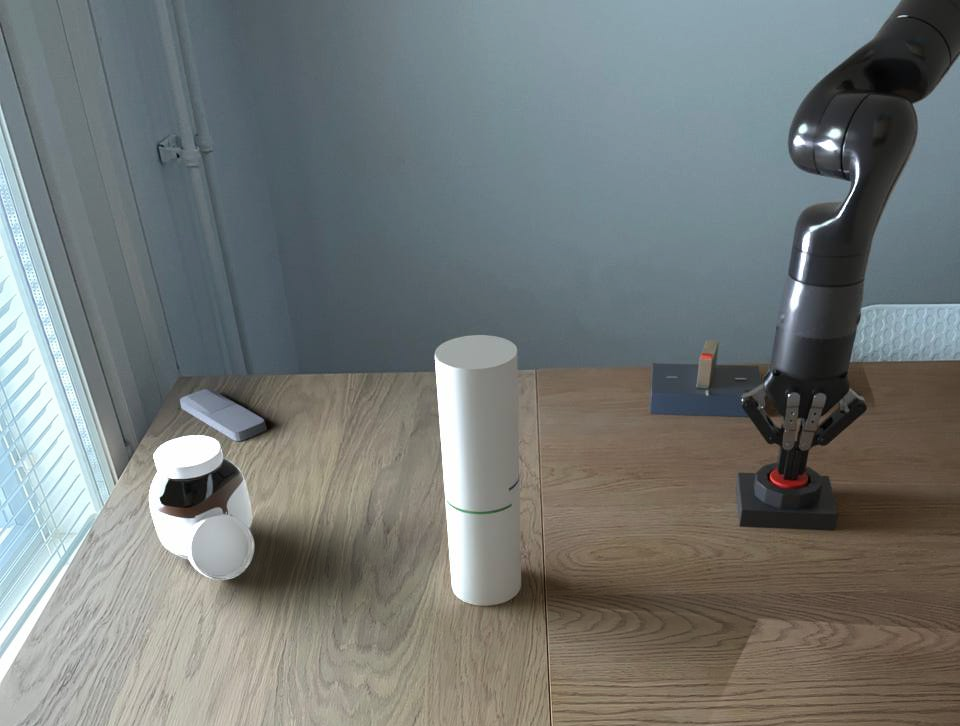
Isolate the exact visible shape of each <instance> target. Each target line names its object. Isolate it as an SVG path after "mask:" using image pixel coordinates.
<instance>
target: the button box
mask: <svg viewBox="0 0 960 726" xmlns="http://www.w3.org/2000/svg"><path fill="white" fill-rule="evenodd" d="M775 469H777V461H776V462H772V463H769V464H765V465H763V466H762V467H760V468H759V469H758V470H757V471H756V472H737V475H736V482H735V498H736V506H737V518H738V526H739V527H742V528H762V529H763V528H765V529H785V530H807V531H827V532H828V531H829V532H830V531H831V532H833V531H835V529H836V524H837V521H838V516H839V513H838V509H837V505H836V500H835V496H834V492H833V488H832V485H831V480H830V476H829V475H821V474H819V473H818V472H817V471H816V470H814V469H813V468H811V467H810V466H807V465H806V468H805V473H806V474H807V476H808V483H807V486H806V487H803V488H799V489H784V488H781V487H777V486H774V485H773V484H772V483H771V482H769V479H770V474H771V472H772V471H773V470H775Z"/></svg>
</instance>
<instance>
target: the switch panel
mask: <svg viewBox="0 0 960 726" xmlns="http://www.w3.org/2000/svg"><path fill="white" fill-rule="evenodd" d="M651 365H652V366H651V378H650V379H651V380H650V399H649V401H650V402H649V403H650V404H649V405H650V406H649V414H650V415H669V416H670V415H671V416H674V415H675V416H676V415H677V416H703V417H704V416H707V417H708V416H709V417H737V418H738V417H739V418H749V416H748V415H747V414H746V412H745V411H744V409H743V408H742V402H741V393H742V392H743V391H744V390H750V391H752V390H753V389H755V388H756V387H758V386H760V385H761V384H762V378H761V372H760V366H759V365H742V364H741V365H739V364H737V365H736V364H716V370H715V373H714V376H713V378H712V381H711V384H710V387H709V389H706V388H697V379H698V369H699V363H698V364H694V363H659V362H657V363H656V362H655V363H652V364H651Z"/></svg>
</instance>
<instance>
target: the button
mask: <svg viewBox="0 0 960 726" xmlns="http://www.w3.org/2000/svg"><path fill="white" fill-rule="evenodd" d="M769 482H771V483H772V484H773V485H774V486H777V487H781V488H784V489H799V488H803V487H806V486H807V483H808V476H807V474H806V473H805V472H804V473H803V475H798V478H797V480H784V479H783V477H782V474H779V473H778V468H777V469H775V470H773V471H772V472H771V474H770V479H769Z"/></svg>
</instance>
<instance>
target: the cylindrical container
mask: <svg viewBox="0 0 960 726" xmlns="http://www.w3.org/2000/svg"><path fill="white" fill-rule="evenodd" d="M434 360H435V361H434V363H435V376H436V378H435V379H436V390H437V403H438V416H439V417H438V418H439V419H438V420H439V430H440V431H439V432H440V443H441V444H440V445H441V457H442V471H443V485H444V487H443V488H444V499H445V512H446V526H447V527H446V528H447V541H448V554H449V569H450V581H451V589H452V593H453V594H454V595H455V596H456V598H457V599H459V600H461V601H462V602H464V603H466V604H469V605H474V606H481V607H482V606H483V607H488V606H496V605H499V604H503V603H507V602H508V601H510V600H512V599H513V598H514V597H516V596H517V595H518V593H520V590H521V587H522V551H521V550H522V549H521V547H522V545H521V542H522V541H521V494H520V493H521V492H520V490H521V489H520V488H521V487H520V442H519V441H520V437H519V436H520V434H519V433H520V432H519V431H520V430H519V427H520V425H519V423H520V422H519V376H518V375H519V373H518V369H519V368H518V348H517V345H516V344H515V343H513V342H512V341H510V340H509V339H506V338H504V337H500V336H496V335H486V334H472V335H465V336H459V337H455V338H452V339H449V340H447V341H445V342H443V343H441V344H440V345H438V346H437V347H436V349H435V351H434Z"/></svg>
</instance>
